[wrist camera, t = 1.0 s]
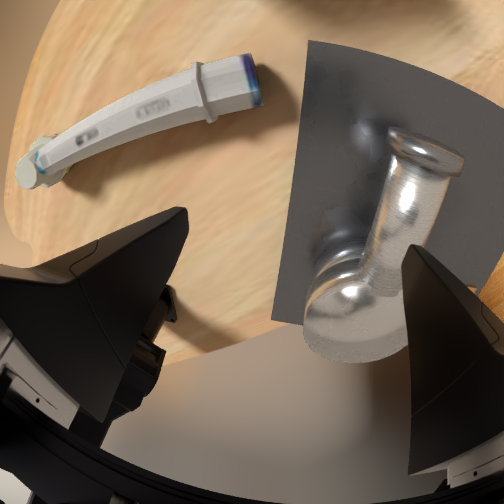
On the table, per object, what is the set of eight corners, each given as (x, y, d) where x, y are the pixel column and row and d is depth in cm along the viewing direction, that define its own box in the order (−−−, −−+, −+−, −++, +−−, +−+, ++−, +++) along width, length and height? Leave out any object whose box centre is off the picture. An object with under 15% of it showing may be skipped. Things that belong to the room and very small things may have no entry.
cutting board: (442, 334, 27) (448, 360, 24) (272, 312, 30) (266, 342, 27) (539, 135, 11) (565, 150, 8) (308, 41, 14) (307, 33, 11)
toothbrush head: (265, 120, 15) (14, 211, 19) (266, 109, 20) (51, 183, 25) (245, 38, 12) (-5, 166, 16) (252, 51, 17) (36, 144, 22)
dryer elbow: (386, 333, 24) (391, 374, 20) (297, 321, 25) (292, 363, 21) (469, 152, 13) (507, 180, 9) (343, 113, 14) (356, 127, 10)
